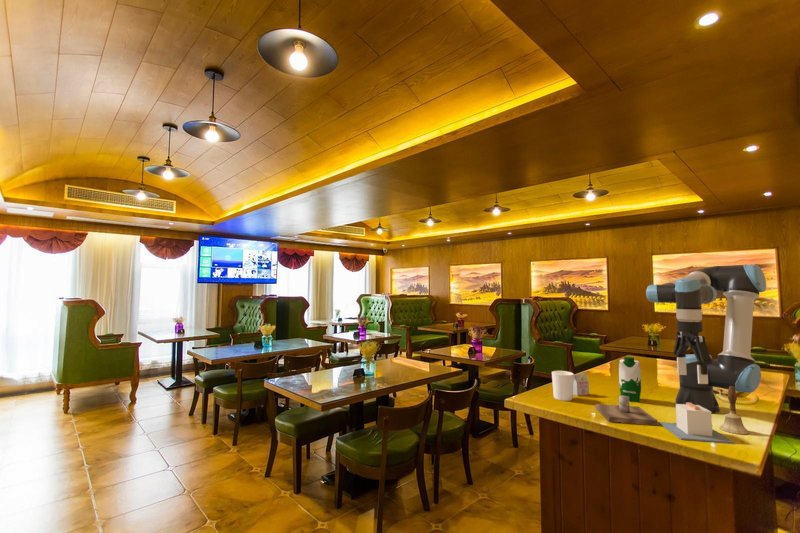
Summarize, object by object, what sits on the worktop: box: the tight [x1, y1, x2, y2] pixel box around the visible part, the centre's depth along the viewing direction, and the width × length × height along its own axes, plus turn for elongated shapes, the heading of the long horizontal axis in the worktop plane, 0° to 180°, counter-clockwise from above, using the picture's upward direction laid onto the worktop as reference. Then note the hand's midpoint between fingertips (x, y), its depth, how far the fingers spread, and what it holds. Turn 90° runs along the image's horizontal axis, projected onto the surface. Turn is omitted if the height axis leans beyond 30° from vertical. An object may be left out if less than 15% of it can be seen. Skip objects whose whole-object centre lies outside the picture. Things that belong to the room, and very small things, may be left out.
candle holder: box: [551, 370, 574, 402], centre depth 179 cm, size 10×10×12 cm
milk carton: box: [618, 356, 642, 403], centre depth 178 cm, size 9×9×20 cm
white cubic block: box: [675, 402, 713, 436], centre depth 136 cm, size 8×8×9 cm
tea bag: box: [573, 373, 590, 397], centre depth 185 cm, size 4×7×10 cm, turn 105°
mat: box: [658, 421, 735, 445], centre depth 136 cm, size 16×16×1 cm
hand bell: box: [719, 386, 750, 436], centre depth 139 cm, size 8×8×16 cm
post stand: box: [595, 394, 659, 426], centre depth 153 cm, size 17×17×8 cm
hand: (692, 379), depth 137 cm, fingers open, 13 cm apart
